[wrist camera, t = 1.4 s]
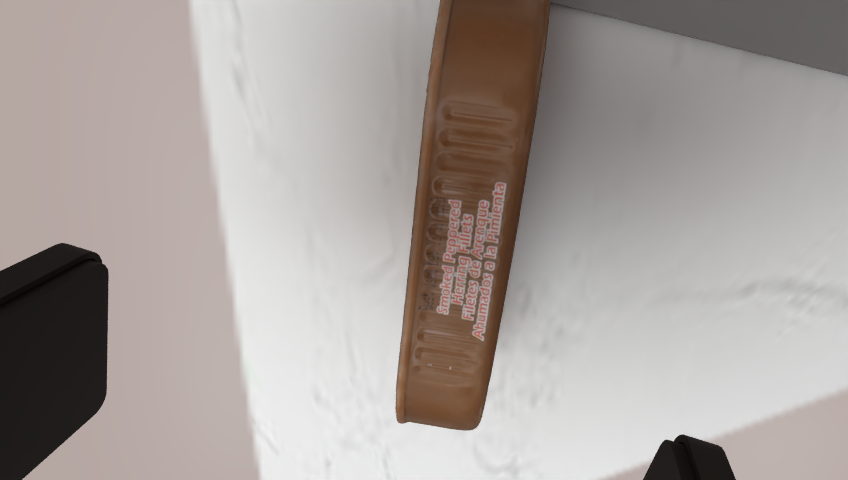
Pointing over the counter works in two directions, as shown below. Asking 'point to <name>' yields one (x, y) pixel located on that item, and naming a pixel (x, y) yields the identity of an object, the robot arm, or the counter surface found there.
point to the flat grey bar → (745, 25)
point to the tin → (467, 204)
